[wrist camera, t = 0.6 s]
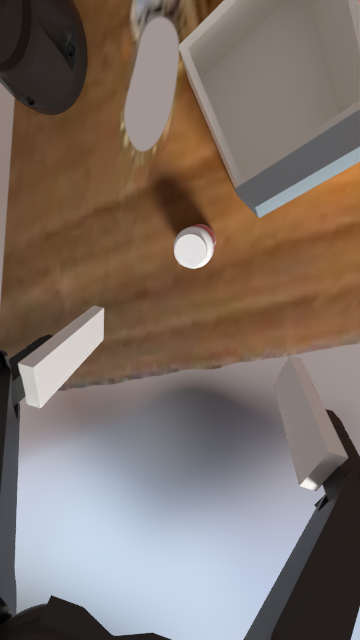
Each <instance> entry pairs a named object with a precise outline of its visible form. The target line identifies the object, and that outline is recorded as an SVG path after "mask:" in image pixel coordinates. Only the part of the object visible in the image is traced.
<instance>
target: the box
mask: <svg viewBox="0 0 360 640" xmlns="http://www.w3.org/2000/svg"><path fill="white" fill-rule="evenodd" d="M178 48H179V51H180V54H181V57H182V60H183V64H184V67H185V70H186V73H187V76H188V80H189V83H190V85H191V87H192V90H193V92H194V94H195V97H196V99H197V101H198V104H199V106H200V108H201V111H202V113H203V115H204V118H205V120H206V122H207V125H208V127H209V130H210V132H211V134H212V137H213V139H214V141H215V144H216V146H217V148H218V151H219V153H220V155H221V158H222V160H223V162H224V165H225V167H226V169H227V172H228V174H229V176H230V179H231V181H232V183H233V186H234V188H237V187H238V186H240V185H241V184H243V183H245V182H246V181H248V180H249V179H251V178H252V177H254V176H256V175H257V174H259V173H260V172H262V171H263V170H265V169H267V168H268V167H270V166H271V165H273V164H274V163H276V162H278V161H279V160H281V159H282V158H284V157H285V156H287V155H288V154H290V153H292V152H293V151H295V150H296V149H298V148H299V147H301V146H303V145H304V144H306V143H307V142H309V141H310V140H312V139H314V138H315V137H317V136H318V135H320V134H321V133H323V132H325V131H326V130H328V129H329V128H331V127H332V126H334V125H336V124H337V123H339V122H340V121H342V120H343V119H345V118H347V117H348V116H350V115H351V114H353V113H354V112H356V111H358V110H359V109H360V2H359V0H224V1H223V2H222V3H221V4H220V5H219V6H218V7H217V8H216V9H215V10H214V11H213V12H212V13H211V14H210V15H209V16H208V17H207V18H206V19H205V20H204V21H203V22H202V23H201V24H200V25H199V26H198V27H197V28H196V29H195V30H194V31H193V32H192V33H191V34H190V35H189V36H188V37H186V38H185V39H184V40H183V41H182V42H181V43H180V44H179V45H178Z"/></svg>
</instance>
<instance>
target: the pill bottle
mask: <svg viewBox="0 0 360 640" xmlns="http://www.w3.org/2000/svg"><path fill="white" fill-rule="evenodd" d="M215 246H216V237H215V234H214V232H213V231H212V230H211V229H210V228H209V227H208V226H206V225H203V224H196V225H193V226H190V227H188V228H186V229H184V230H182V231H181V232H180V233H179V234H178V236H177V237H176V239H175V242H174V254H175V257H176V259H177V261H178V262H179V263H180V264H181V265H183V266H185V267H188V268H199V267H202V266H204V265H205V264H206V263H207V262H208V261H209V260H210V258H211V257H212V254H213V252H214V249H215Z"/></svg>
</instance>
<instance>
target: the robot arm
mask: <svg viewBox="0 0 360 640" xmlns="http://www.w3.org/2000/svg"><path fill="white" fill-rule="evenodd" d="M86 70H87V45H86V37H85V32H84V28H83V25H82V21H81V18H80V16H79V13H78V11H77V8H76V6H75V4H74V2H73V1H72V0H0V83H1V84H2V85H3V86H4V87H5V88H6V89H7V90H8V91H9V92H10V93H11V94H12V95H13V96H14V97H15V98H16V99H17V100H18V101H20V102H21V103H23V104H24V105H26V106H28V107H29V108H31V109H33V110H35V111H37V112H39V113H42V114H47V115H55V114H59V113H62V112H64V111H66V110H67V109H68V108H70V107H71V106H72V105H73V104H74V102H75V101H76V99H77V98H78V96H79V94H80V92H81V90H82V87H83V84H84V81H85V76H86ZM103 334H104V308H102V307H98V306H92V307H91V308H90V309H89V310H87V311H86V312H85V313H83V314H82V315H81V316H79V317H78V318H77V319H75V320H74V321H73V322H71V323H70V324H69V325H67V326H66V327H65V328H64V329H62V330H61V331H60V332H58V333H57V334H56V335H54V336H52V335H46V336H43V337H41V338H39V339H37V340H36V341H34V342H33V343H32V344H30V345H29V346H27V347H26V349H23V350H22V351H20V352H19V353H18V354H16V355H15V356H13V357H12V358H11V359H8V356H7V353H6V352H4V351H2V350H0V640H171V639H168V638H165V637H162V636H160V635H157V634H155V633H145V634H134V635H122V636H113V635H111V634H110V633H109V632H108V631H107V630H106V629H105V628H104V627H103V626H102V625H101V624H100V623H99V622H98V621H97V620H96V619H95V618H94V617H93V616H92V615H91V614H90V613H88V611H87V610H86V609H85V608H83V607H81V606H79V605H76V604H73V603H71V602H68V601H65V600H62V599H60V598H57V597H54V596H51V597H50V599H49V602H48V604H41V605H37V606H34V607H31V608H28V609H26V610H24V611H22V612H20V613H18V614H16V580H15V569H14V564H15V563H14V562H15V534H16V506H17V478H18V451H19V422H20V421H19V420H20V404H19V402H20V401H21V400H22V399H23V398H24V397H25V398H26V402H27V404H28V405H31V406H34V407H38V408H41V407H42V406H43V405H44V404H45V403H46V402H47V401H48V400H49V399H50V397H51V396H52V395H53V394H54V393H55V392H56V391H57V390H58V389H59V388H60V387H61V386H62V384H63V383H64V382H65V381H66V380H67V379H68V378H69V377H70V376H71V375H72V373H73V372H74V371H75V370H76V369H77V368H78V367H79V366H80V365H81V364H82V363H83V361H84V360H85V359H86V358H87V357H88V356H89V355H90V354H91V353H92V352H93V351H94V349H95V348H96V347H97V346H98V345H99V344H100V343H101V342H102V341H103ZM274 389H275V393H276V397H277V401H278V404H279V408H280V412H281V416H282V420H283V424H284V428H285V432H286V435H287V440H288V443H289V447H290V451H291V455H292V459H293V463H294V467H295V471H296V475H297V479H298V483H299V486H301V487H304V488H308V489H311V490H315V491H317V489H318V488H319V487H320V486H321V485H322V484H323V487H324V490H325V493H326V494H325V495H324V496H323V497H322V498H321V499H320V500H319V501H318V502H317V503H316V504H315V506H316V507H317V508H316V510H315V511H314V514H313V515H312V517H311V519H310V520H309V522H308V524H307V526H306V528H305V529H304V531H303V533H302V535H301V537H300V538H299V540H298V542H297V544H296V546H295V548H294V549H293V551H292V553H291V555H290V557H289V558H288V560H287V562H286V564H285V566H284V567H283V569H282V571H281V573H280V575H279V576H278V578H277V580H276V582H275V584H274V586H273V587H272V589H271V591H270V593H269V595H268V596H267V598H266V600H265V602H264V604H263V605H262V608H261V609H260V611H259V613H258V615H257V616H256V618H255V620H254V622H253V624H252V625H251V627H250V629H249V631H248V633H247V634H246V636H245V638H244V640H351V636H352V633H353V629H354V625H355V622H356V618H357V614H358V611H359V607H360V456H359V455H358V453H357V451H356V449H355V447H354V445H353V443H352V441H351V439H349V435H348V434H347V432H346V431H345V428H344V426H343V424H342V422H341V421H340V419H339V418H338V417H337V416H336V415H335V413H334V412H333V411H330V410H326V409H325V408H324V406H323V404H322V402H321V399H320V397H319V395H318V393H317V391H316V389H315V387H314V385H313V383H312V381H311V378H310V377H309V374H308V372H307V370H306V368H305V366H304V364H303V362H302V360H301V359H300V358H296V357H293V356H289V357H288V359H287V361H286V363H285V365H284V367H283V369H282V370H281V373H280V374H279V376H278V378H277V380H276V382H275V384H274Z"/></svg>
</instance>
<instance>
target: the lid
mask: <svg viewBox="0 0 360 640" xmlns="http://www.w3.org/2000/svg"><path fill="white" fill-rule="evenodd" d="M358 162H360V109H359V110H358V111H356V112H354V113H353V114H351V115H350V116H348V117H347V118H345V119H343V120H342V121H340V122H339V123H337V124H336V125H334V126H332V127H331V128H329V129H328V130H326V131H325V132H323V133H321V134H320V135H318V136H317V137H315V138H314V139H312V140H310V141H309V142H307V143H306V144H304V145H303V146H301V147H299V148H298V149H296V150H295V151H293V152H292V153H290V154H288V155H287V156H285V157H284V158H282V159H281V160H279V161H278V162H276V163H274V164H273V165H271V166H270V167H268V168H267V169H265V170H263V171H262V172H260V173H259V174H257V175H256V176H254V177H252V178H251V179H249V180H248V181H246V182H245V183H243V184H241V185H240V186H238V187H237V188H235V189H234V190H235V192H236V195H237V196H238V197H239V198H240V199H241V200H242V201H243V202H244V203H245V204H246V205H247V206H248V207H249V208H250V209H251V210H252V211H253V212H254V213H255V214H256V215H257V216H258V217H259V218H260V217H262V216H264V215H265V214H267V213H269V212H271V211H273V210H274V209H276V208H278V207H280V206H281V205H283V204H285V203H287V202H289V201H290V200H292V199H294V198H296V197H297V196H299V195H301V194H303V193H305V192H306V191H308V190H310V189H312V188H314V187H315V186H317V185H319V184H321V183H322V182H324V181H326V180H328V179H330V178H331V177H333V176H335V175H337V174H338V173H340V172H342V171H344V170H346V169H347V168H349V167H351V166H353V165H355V164H356V163H358Z"/></svg>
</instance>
